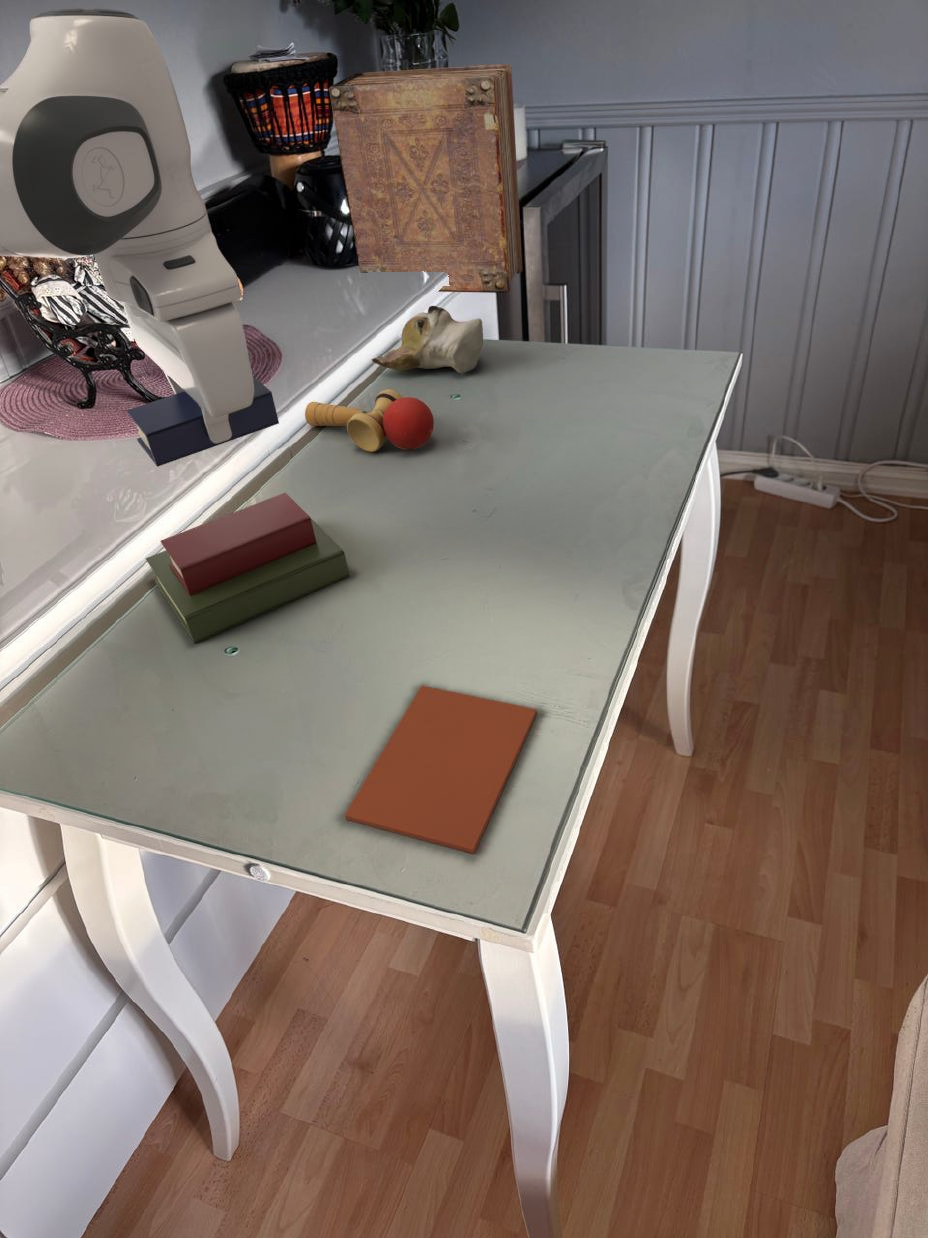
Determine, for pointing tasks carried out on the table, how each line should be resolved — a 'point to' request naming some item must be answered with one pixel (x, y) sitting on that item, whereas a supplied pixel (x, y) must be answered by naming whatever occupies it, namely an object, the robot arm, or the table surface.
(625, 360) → the table surface
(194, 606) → the olive book
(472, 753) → the rubber mat
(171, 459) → the navy book
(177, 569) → the burgundy book
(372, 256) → the book
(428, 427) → the kendama
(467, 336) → the ceramic sculpture
